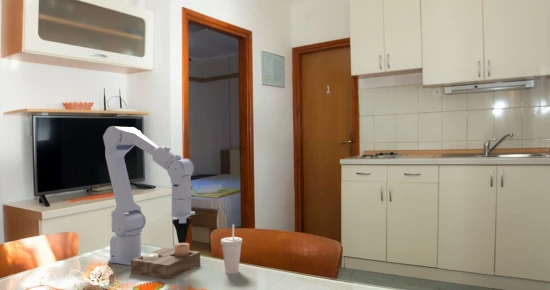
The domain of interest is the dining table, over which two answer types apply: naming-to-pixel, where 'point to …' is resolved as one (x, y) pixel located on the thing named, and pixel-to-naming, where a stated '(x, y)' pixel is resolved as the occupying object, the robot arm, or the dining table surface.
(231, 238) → the smoothie
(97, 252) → the dining table surface
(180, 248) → the peach egg
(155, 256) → the knob cream
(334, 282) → the dining table surface
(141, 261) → the wooden egg crate
